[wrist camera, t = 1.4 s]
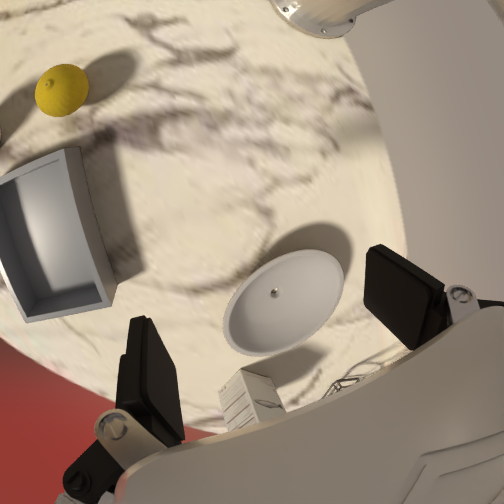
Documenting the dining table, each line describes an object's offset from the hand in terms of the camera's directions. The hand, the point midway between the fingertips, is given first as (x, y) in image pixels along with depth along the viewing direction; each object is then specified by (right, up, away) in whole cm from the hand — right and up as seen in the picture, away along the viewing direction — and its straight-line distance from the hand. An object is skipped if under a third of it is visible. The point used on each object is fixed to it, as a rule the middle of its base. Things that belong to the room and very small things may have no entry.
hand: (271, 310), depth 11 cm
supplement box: (-2, -21, +35) cm, 41 cm away
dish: (+2, -3, +28) cm, 28 cm away
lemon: (-20, +20, +11) cm, 30 cm away
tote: (-25, +5, +16) cm, 30 cm away
